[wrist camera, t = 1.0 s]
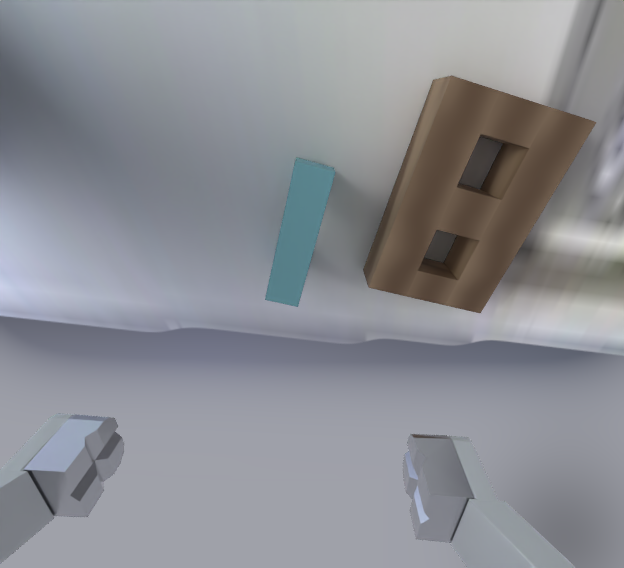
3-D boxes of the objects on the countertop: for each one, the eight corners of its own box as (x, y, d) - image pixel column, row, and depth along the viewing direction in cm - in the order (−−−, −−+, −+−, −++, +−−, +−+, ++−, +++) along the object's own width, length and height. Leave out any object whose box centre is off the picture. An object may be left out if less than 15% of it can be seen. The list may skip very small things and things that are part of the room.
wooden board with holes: (363, 269, 35) (368, 287, 32) (433, 79, 27) (451, 75, 23) (464, 293, 36) (480, 313, 33) (561, 120, 28) (596, 122, 25)
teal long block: (273, 265, 35) (265, 299, 29) (299, 150, 29) (295, 161, 23) (300, 271, 35) (297, 306, 29) (330, 158, 30) (335, 172, 24)
